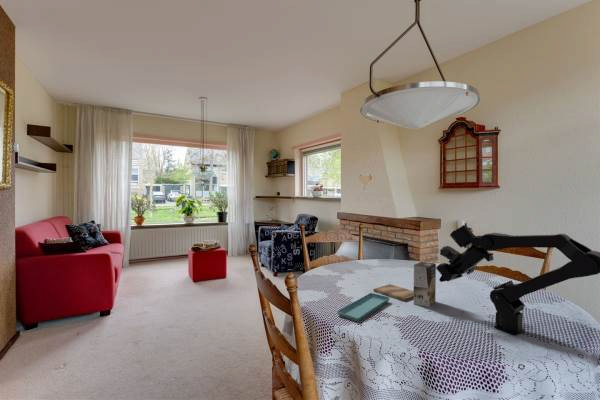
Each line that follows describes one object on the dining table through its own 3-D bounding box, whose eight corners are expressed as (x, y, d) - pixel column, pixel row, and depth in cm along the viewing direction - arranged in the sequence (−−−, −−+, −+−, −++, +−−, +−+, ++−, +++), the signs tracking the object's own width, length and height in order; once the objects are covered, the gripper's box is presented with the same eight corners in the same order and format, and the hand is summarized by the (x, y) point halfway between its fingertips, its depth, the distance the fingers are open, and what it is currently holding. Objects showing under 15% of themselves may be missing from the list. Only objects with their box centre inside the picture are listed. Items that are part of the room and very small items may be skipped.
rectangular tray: (358, 324, 103) (358, 317, 103) (336, 316, 109) (336, 310, 109) (390, 303, 123) (390, 297, 123) (370, 298, 129) (370, 292, 129)
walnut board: (420, 295, 130) (420, 292, 130) (404, 301, 123) (404, 298, 123) (389, 286, 143) (389, 284, 143) (373, 291, 136) (373, 288, 136)
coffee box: (429, 307, 117) (429, 267, 116) (413, 304, 121) (413, 264, 120) (435, 301, 124) (436, 263, 123) (420, 297, 128) (420, 261, 128)
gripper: (466, 238, 118) (438, 260, 127) (441, 242, 106) (413, 266, 116) (487, 261, 111) (457, 283, 121) (464, 268, 100) (432, 292, 109)
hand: (440, 280), depth 117 cm, fingers closed
